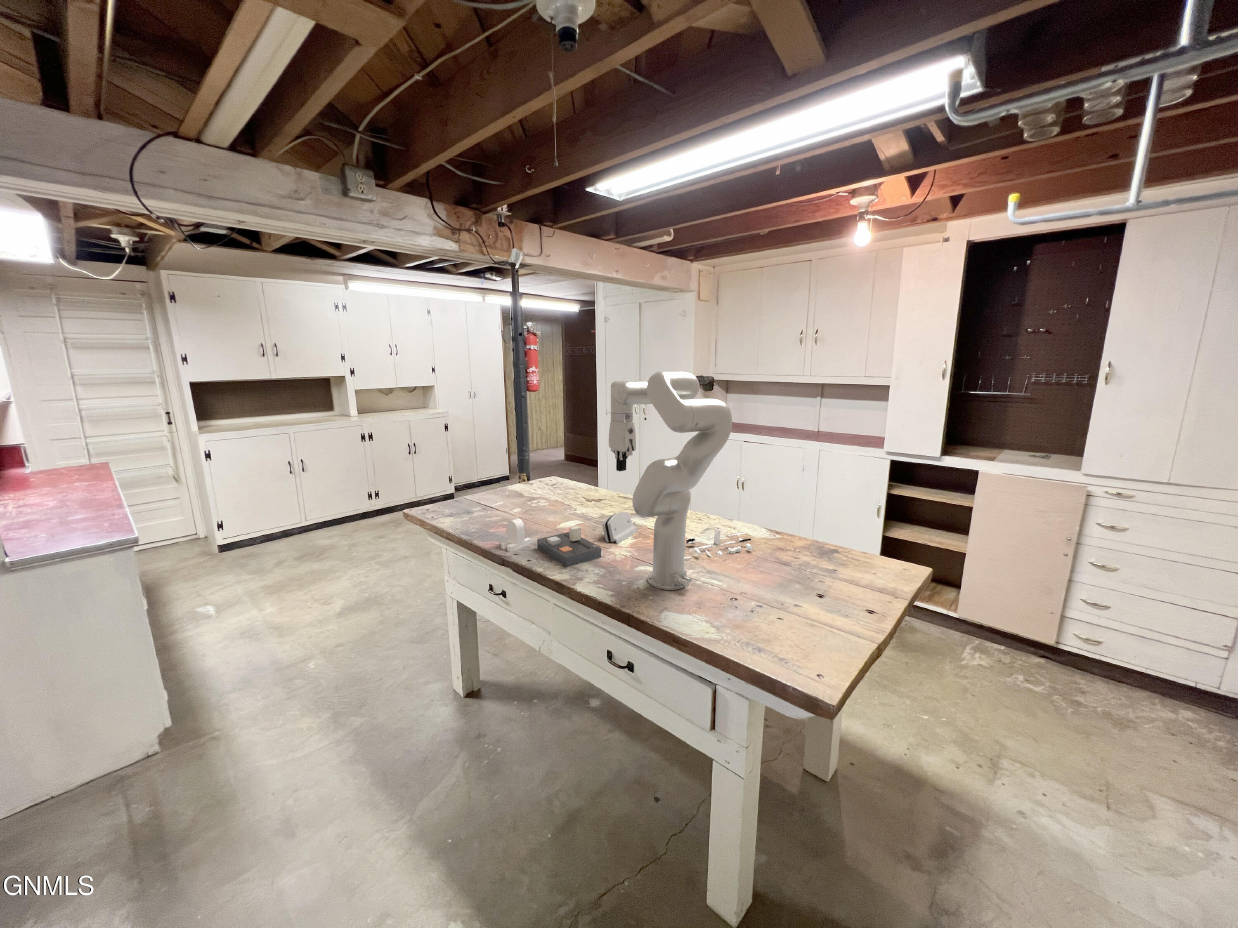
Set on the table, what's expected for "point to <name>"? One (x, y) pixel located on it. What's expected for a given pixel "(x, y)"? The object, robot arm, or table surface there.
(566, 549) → the terracotta key
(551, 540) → the grey key
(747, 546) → the miniature set
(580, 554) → the control panel
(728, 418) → the robot arm
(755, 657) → the table surface
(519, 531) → the cable organizer
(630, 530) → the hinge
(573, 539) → the cream tall block
